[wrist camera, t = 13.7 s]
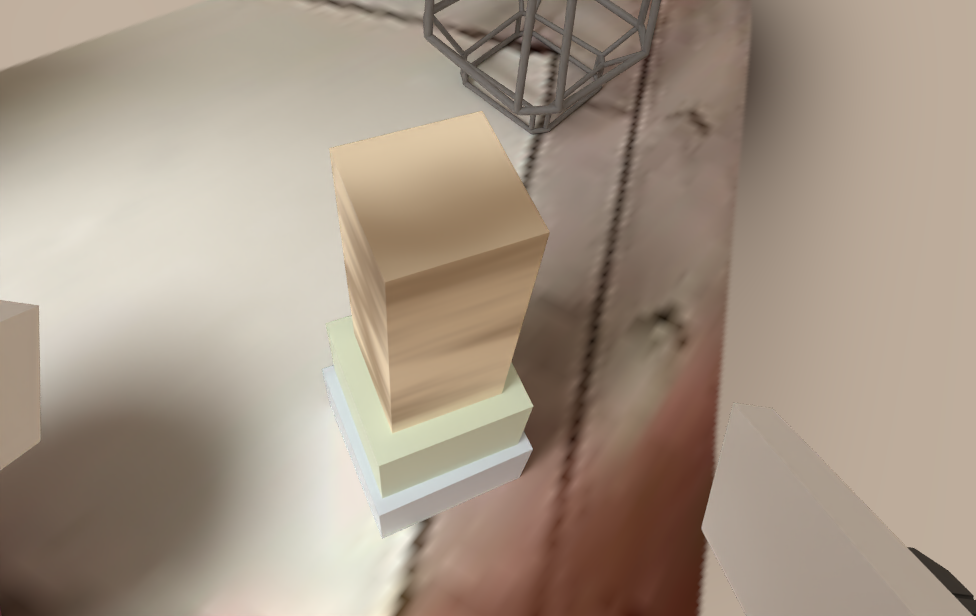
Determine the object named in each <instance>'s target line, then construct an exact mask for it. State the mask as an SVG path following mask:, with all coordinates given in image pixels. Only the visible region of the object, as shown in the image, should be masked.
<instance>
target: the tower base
mask: <svg viewBox="0 0 976 616" xmlns="http://www.w3.org/2000/svg"><path fill="white" fill-rule="evenodd" d="M322 372H323V377H324V381H325V385H326V389H327V393H328V398H329V402H330V406H331V408H332V411H333V413H334V416H335V419H336V421H337V424H338V426H339V429H340V431H341V434H342V437H343V439H344V442H345V444H346V447H347V449H348V452H349V455H350V457H351V460H352V462H353V465H354V467H355V470H356V473H357V475H358V478H359V480H360V483H361V485H362V488H363V491H364V493H365V496H366V498H367V501H368V503H369V506H370V509H371V511H372V514H373V516H374V519H375V522H376V524H377V527H378V529H379V532H380V534H381V537H382V539H383V538H385V537H387V536H389V535H392V534H394V533H396V532H398V531H401V530H403V529H405V528H407V527H410V526H412V525H414V524H416V523H419V522H421V521H423V520H425V519H428V518H430V517H432V516H434V515H437V514H439V513H441V512H443V511H446V510H448V509H450V508H452V507H455V506H457V505H459V504H461V503H464V502H466V501H468V500H470V499H473V498H475V497H477V496H479V495H481V494H484V493H486V492H488V491H490V490H493V489H495V488H497V487H499V486H502V485H504V484H506V483H508V482H511V481H513V480H515V479H517V478H519V477H520V475H521V473H522V471H523V469H524V467H525V465H526V463H527V461H528V459H529V456H530V454H531V452H532V450H533V448H532V446H531V444H530V442H529V440H528V438H527V436H526V434H525V432H524V430H523V433H522V435H521V438H520V440H519V442H518V444H517V445H515V446H512V447H510V448H507V449H505V450H502V451H500V452H498V453H495V454H493V455H490V456H488V457H485V458H483V459H480V460H478V461H475V462H473V463H470V464H468V465H465V466H463V467H460V468H458V469H455V470H453V471H450V472H448V473H445V474H443V475H440V476H438V477H435V478H433V479H430V480H428V481H425V482H423V483H420V484H418V485H415V486H413V487H410V488H408V489H405V490H403V491H400V492H398V493H395V494H393V495H390V496H388V497H385V498H383V499H382V497H381V494H380V491H379V488H378V486H377V483H376V480H375V478H374V475H373V472H372V469H371V467H370V464H369V461H368V459H367V456H366V453H365V451H364V448H363V445H362V442H361V440H360V437H359V434H358V432H357V429H356V426H355V423H354V421H353V418H352V415H351V413H350V410H349V407H348V405H347V402H346V399H345V396H344V394H343V391H342V388H341V386H340V383H339V380H338V378H337V375H336V372H335V369H334V365H332V366H329V367H326V368H324V369H322Z"/></svg>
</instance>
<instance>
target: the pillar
mask: <svg viewBox="0 0 976 616" xmlns="http://www.w3.org/2000/svg"><path fill="white" fill-rule="evenodd" d="M329 150H330V158H331V165H332V172H333V180H334V187H335V195H336V202H337V210H338V217H339V224H340V232H341V239H342V247H343V254H344V262H345V269H346V276H347V284H348V291H349V299H350V306H351V314H352V321H353V328H354V334H355V337H356V339H357V342H358V345H359V347H360V350H361V353H362V355H363V358H364V360H365V363H366V366H367V368H368V371H369V374H370V376H371V379H372V382H373V384H374V387H375V389H376V392H377V395H378V397H379V400H380V403H381V405H382V408H383V410H384V413H385V416H386V418H387V421H388V424H389V426H390V429H391V432H392V433H395V432H398V431H401V430H403V429H406V428H409V427H412V426H414V425H417V424H420V423H423V422H425V421H428V420H431V419H434V418H436V417H439V416H442V415H444V414H447V413H450V412H453V411H455V410H458V409H461V408H464V407H466V406H469V405H472V404H475V403H477V402H480V401H483V400H485V399H488V398H491V397H494V396H496V395H499V394H502V391H503V388H504V385H505V381H506V378H507V375H508V371H509V368H510V364H511V361H512V358H513V354H514V351H515V348H516V344H517V341H518V337H519V334H520V331H521V327H522V324H523V321H524V317H525V314H526V311H527V307H528V304H529V300H530V297H531V294H532V290H533V287H534V284H535V280H536V277H537V273H538V270H539V267H540V263H541V260H542V257H543V253H544V250H545V247H546V243H547V240H548V236H549V233H550V232H549V230H548V228H547V226H546V225H545V223H544V221H543V219H542V217H541V216H540V214H539V212H538V210H537V208H536V207H535V205H534V203H533V201H532V199H531V198H530V196H529V194H528V192H527V190H526V189H525V187H524V185H523V183H522V181H521V180H520V178H519V176H518V174H517V172H516V171H515V169H514V167H513V165H512V163H511V162H510V160H509V158H508V156H507V154H506V153H505V151H504V149H503V147H502V145H501V144H500V142H499V140H498V138H497V136H496V135H495V133H494V131H493V129H492V127H491V126H490V124H489V122H488V120H487V118H486V117H485V115H484V113H483V111H479V112H475V113H471V114H467V115H463V116H459V117H455V118H451V119H446V120H442V121H438V122H434V123H430V124H426V125H422V126H418V127H414V128H410V129H406V130H402V131H397V132H393V133H389V134H385V135H381V136H377V137H373V138H369V139H365V140H361V141H357V142H353V143H348V144H344V145H340V146H336V147H332V148H329Z"/></svg>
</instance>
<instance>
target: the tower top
mask: <svg viewBox="0 0 976 616" xmlns="http://www.w3.org/2000/svg"><path fill="white" fill-rule="evenodd" d="M326 329H327V334H328V339H329V344H330V349H331V354H332V359H333V364H334V369H335V372H336V375H337V378H338V380H339V383H340V386H341V388H342V391H343V394H344V396H345V399H346V402H347V405H348V407H349V410H350V413H351V415H352V418H353V421H354V423H355V426H356V429H357V432H358V434H359V437H360V440H361V442H362V445H363V448H364V451H365V453H366V456H367V459H368V461H369V464H370V467H371V469H372V472H373V475H374V478H375V480H376V483H377V486H378V488H379V491H380V494H381V497H382V499H383V498H385V497H388V496H390V495H393V494H395V493H398V492H400V491H403V490H405V489H408V488H410V487H413V486H415V485H418V484H420V483H423V482H425V481H428V480H430V479H433V478H435V477H438V476H440V475H443V474H445V473H448V472H450V471H453V470H455V469H458V468H460V467H463V466H465V465H468V464H470V463H473V462H475V461H478V460H480V459H483V458H485V457H488V456H490V455H493V454H495V453H498V452H500V451H502V450H505V449H507V448H510V447H512V446H515V445H517V444H518V442H519V440H520V438H521V435H522V433H523V430H524V428H525V426H526V423H527V421H528V418H529V416H530V413H531V411H532V409H533V404H532V402H531V400H530V398H529V396H528V394H527V392H526V390H525V388H524V386H523V384H522V382H521V380H520V378H519V376H518V374H517V372H516V370H515V368H514V366H513V364H512V362H511V364H510V368H509V371H508V375H507V378H506V381H505V385H504V388H503V391H502V394H499V395H496V396H494V397H491V398H488V399H485V400H483V401H480V402H477V403H475V404H472V405H469V406H466V407H464V408H461V409H458V410H455V411H453V412H450V413H447V414H444V415H442V416H439V417H436V418H434V419H431V420H428V421H425V422H423V423H420V424H417V425H414V426H412V427H409V428H406V429H403V430H401V431H398V432H395V433H392V432H391V429H390V426H389V424H388V421H387V418H386V416H385V413H384V410H383V408H382V405H381V403H380V400H379V397H378V395H377V392H376V389H375V387H374V384H373V382H372V379H371V376H370V374H369V371H368V368H367V366H366V363H365V360H364V358H363V355H362V353H361V350H360V347H359V345H358V342H357V339H356V337H355V334H354V328H353V321H352V315H351V316H347V317H344V318H341V319H338V320H335V321H332V322H329V323H326Z"/></svg>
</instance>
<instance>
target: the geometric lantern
mask: <svg viewBox="0 0 976 616" xmlns="http://www.w3.org/2000/svg"><path fill="white" fill-rule="evenodd" d="M457 1H459V0H442V1H440V2H439V3H437V4H435V5H434V0H425V12H424V16H423V28H424V37H425V39H426V40H427V41H428V42H430V43H431V44H432V45H433V46H434V47H436V48H437V49H438V50H439V51H440V52H442V53H443V54H444V55H445V56H446V57H448V58H449V59H450V60H451V61H452V62H454V63H455V64H456V65H457V66H458V67H460V68H461V72H460V74H461V77H462V80H463V85H464V86H465V87H467V88H469V89H470V90H472V91H473V92H474V93H476V94H477V95H478V96H480V97H481V98H483V99H484V100H485V101H487V102H488V103H489V104H491V105H492V106H493V107H495V108H496V109H498V110H499V111H500V112H502V113H503V114H504V115H506V116H507V117H509V118H510V119H511V120H513V121H514V122H515V123H517V124H518V125H519V126H521V127H522V128H524V129H525V130H526V131H528V132H530V134H537V133H543V132H549V131H550V130H551V129H552V128H554V127H555V126H556V125H557V124H558V123H560V122H561V121H562V120H563V119H565V118H566V117H567V116H568V115H570V114H571V113H572V112H573V111H575V110H576V109H577V108H578V107H579V106H581V105H582V104H583V103H584V102H586V101H587V100H588V99H589V98H591V97H592V96H593V95H594V94H596V93H597V92H598V91H599V90H600V89H601V88H602V85H603V84H605V83H607V82H608V81H610V80H611V79H613V78H614V77H616V76H617V75H619V74H620V73H622V72H623V71H625V70H627V69H628V68H630V67H631V66H633V65H634V64H636V63H637V62H639V61H640V60H642V59H643V58H645V57H646V56H648V55H649V52H650V47H651V43H652V38H653V34H654V29H655V25H656V20H657V16H658V11H659V7H660V2H661V0H652V5H651V10H650V15H649V20H648V25H647V29H645V25H644V22H645V18H646V15H647V11H648V7H649V4H650V0H643V1H642V4H641V8H640V12H639V16H638V19H636V18H635V17H633V16H632V15H630V14H629V13H627V12H626V11H624V10H623V9H622V8H620V7H619V6H617V5H616V4H614V3H613V2H611V1H610V0H595V1H597V2H598V3H600V4H601V5H603V6H604V7H606V8H607V9H609V10H610V11H612V12H613V13H615V14H616V15H618V16H619V17H621V18H622V19H624V20H625V21H626V22H628V23H629V24H631V25H632V26H634V27H633V28H632V29H631V30H629V31H628V32H627V33H626V34H625V35H623V36H622V37H621V38H620V39H618V40H617V41H616V42H615V43H613V44H612V45H611V46H610V47H608V48H607V49H606V50H605V51H603V52H601V51H599V50H597V49H596V48H594V47H592V46H591V45H589V44H587V43H585V42H584V41H582V40H580V39H579V38H577V37H575V36H574V35H572V32H573V25H574V18H575V11H576V3H577V0H567V8H566V16H565V24H564V30H563V29H562V28H560V27H558V26H557V25H555V24H553V23H552V22H550V21H548V20H546V19H545V18H543V17H541V16H540V15H538V14H536V12H537V10H538V7H539V5H540V2H541V0H528V3H527V10H526V11H524V1H523V0H519V10H520V11H519V12H518V13H516V14H515V15H514V16H512V17H511V18H509V19H508V20H507V21H505V22H504V23H503V24H501V25H500V26H499V27H497V28H496V29H494V30H493V31H492V32H490V33H489V34H488V35H486V36H485V37H484V38H482V39H481V40H479V41H478V42H477V43H475V44H474V45H473V46H471V47H470V48H469V49H467V50H466V51H463V50H462V49H461V47H460V46H459V45H458V44H457V43H456V41H455V40H454V39H453V38H452V36H451V35H450V34H449V33H448V32H447V30H446V29H445V28H444V27H443V26H442V24H441V23H440V22H439V21H438V19H437V18H436V17H435V16H434V14H435V13H437V12H439V11H441V10H443V9H444V8H446V7H448V6H450V5H452V4H453V3H455V2H457ZM522 16H526V18H525V25H524V31H520V25H521V17H522ZM535 19H537V20H538V21H540V22H542V23H543V24H545V25H547V26H548V27H550V28H552V29H553V30H555V31H557V32H558V33H560V34H562V35H563V40H562V48H561V49H560V48H559V47H557V46H556V45H554V44H553V43H551V42H550V41H548V40H547V39H545V38H544V37H542V36H541V35H539V34H538V33H536V32H535V31H533V28H534V23H535ZM515 20H516V28H515V33H514V34H512V35H511V36H510V37H508V38H507V39H505V40H504V41H502V42H501V43H500V44H498V45H497V46H495V47H494V48H492V49H491V50H490V51H488V52H487V53H485V54H484V55H482V56H481V57H480V58H478V59H477V60H475V61H474V62H472V63H470V62H468V61H467V56H468V55H469V54H471V53H472V52H473V51H475V50H476V49H477V48H479V47H480V46H481V45H483V44H484V43H485V42H487V41H488V40H489V39H491V38H492V37H494V36H495V35H496V34H498V33H499V32H500V31H502V30H503V29H504V28H506V27H507V26H508V25H510V24H511V23H512V22H514V21H515ZM433 23H434V24H435V25H436V26H437V27H438V29H439V30H440V31H441V32H442V34H443V35H444V36H445V37H446V38H447V40H448V41H449V42H450V43H451V44H452V46H453V47H454V48H455V49H456V50H457V52H458V53H459V54H460V55H461V56H460V55H459V54H457V53H456V52H455V51H454V50H452V49H451V48H450V47H448V46H447V45H446V44H445V43H443V42H442V41H441V40H440V39H438V38H437V37H436V36H435V35H433ZM636 31H638V32H639V37H640V43H641V49H642V51H640V52H637V53H633V54H630V55H627V56H623V57H620V58H617V59H613V60H610V61H606V62H605V58H604V57H605V56H606V55H608V54H609V53H610V52H611V51H613V50H614V49H615V48H616V47H618V46H619V45H620V44H621V43H623V42H624V41H625V40H626V39H628V38H629V37H630V36H631V35H633V34H634V33H635V32H636ZM518 36H523V40H522V47H521V54H520V62H519V69H518V77H517V84H516V92H515V93H513V92H512V91H511V90H509V89H508V88H506V87H505V86H503V85H502V84H500V83H499V82H497V81H496V80H494V79H493V78H492V77H490V76H489V75H487V74H486V73H484V72H483V71H481V70H480V69H478V68H477V67H475V66H477V65H478V64H480V63H481V62H482V61H484V60H485V59H487V58H488V57H490V56H491V55H492V54H494V53H495V52H497V51H498V50H500V49H501V48H502V47H504V46H505V45H507V44H508V43H509V42H511V41H512V40H514V39H515V38H517V37H518ZM532 36H534V37H535V38H537V39H538V40H540V41H541V42H543V43H544V44H546V45H547V46H549V47H550V48H552V49H553V50H555V51H556V52H557V53H559V54H560V55H561V56H560V63H559V71H558V81H557V90H556V99H555V100H554V101H553V102H552V103H550V104H549V105H548V106H532V105H531V104H530V103H528V102H527V101H525V100H524V99H523V94H524V87H525V79H526V73H527V66H528V59H529V52H530V46H531V39H532ZM571 40H572V41H574V42H575V43H577V44H579V45H580V46H582V47H584V48H585V49H587V50H589V51H590V52H592V53H594V54H596V55H597V58H596V62H595V65H594V69H593V70H591V69H590V68H588V67H587V66H585V65H584V64H582V63H581V62H579V61H578V60H576V59H575V58H573V57H572V56H571V55H569V54H570V47H571ZM568 61H571V62H572V63H574V64H575V65H577V66H578V67H580V68H581V69H583V70H584V71H585V72H587V73H588V74H587V75H585V76H584V77H583V78H582V79H580V80H579V81H578V82H577V83H575V84H574V85H573V86H572V87H570V88H569V89H568V90H567V91H565V85H566V76H567V68H568ZM621 62H623V63H622V64H620V65H618V66H617V67H615V68H614V69H612V70H611V71H609V72H608V73H606V74H604V75H603V76H602V74H603V70H604V67H608V66H611V65H615V64H618V63H621ZM597 72H598V74H597ZM468 75H469V76H471V77H472V78H473V79H474V80H475V81H477V82H478V83H479V84H480V85H481V86H483V87H484V88H485V89H486V90H487V91H489V92H490V93H491V94H492V95H493V96H495V97H496V98H497V99H498V100H499V101H501V102H502V103H503V104H504V105H505V106H507V107H508V108H509V109H510V110H511V111H513V112H514V113H515V114H517V115H530V125H529V126H528V125H527V124H525V123H524V122H523V121H521V120H520V119H519V118H517V117H516V116H514V115H513V114H512V113H510V112H509V111H508V110H506V109H505V108H503V107H502V106H501V105H499V104H498V103H497V102H495V101H494V100H492V99H491V98H490V97H488V96H487V95H486V94H484V93H483V92H481V91H480V90H479V89H477V88H476V87H475V86H473V85H472V84H470V83H469V82H468ZM592 76H593V77H594V80H595V81H594V82H592V83H591V84H589V85H587V86H586V87H584V88H583V89H581V90H580V91H578V92H577V93H575V94H573V95H572V96H570V97H569V98H567V99H566V100H564V99H565V98H566V97H567V96H569V95H570V94H571V93H572V92H574V91H575V90H576V89H577V88H579V87H580V86H581V85H582V84H584V83H585V82H586V81H587V80H589V79H590V78H591V77H592ZM499 89H500V90H501V91H500V90H499ZM502 91H503V92H504V93H506V94H507V95H509V96H510V97H511V98H513V99H514V101H512V100H511V99H510V98H509V97H508V96H506V95H505V94H504V93H503V92H502ZM577 101H578V102H577ZM576 102H577V103H576ZM574 103H575V104H574ZM573 104H574V105H573ZM522 105H523V106H525V107H522ZM571 105H573V106H572V107H570V106H571ZM568 107H570V108H569V109H568V110H567V111H565V112H564V113H563V114H562V115H560V116H559V117H558V118H557V119H555V120H554V121H553V122H552V123H550V118H551V114H555V113H560V112H562V111H564V110H565V109H567V108H568ZM540 114H546V116H545V121H544V127H542V128H535V129H534V126H535V117H536V115H540ZM549 123H550V124H549Z"/></svg>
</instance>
